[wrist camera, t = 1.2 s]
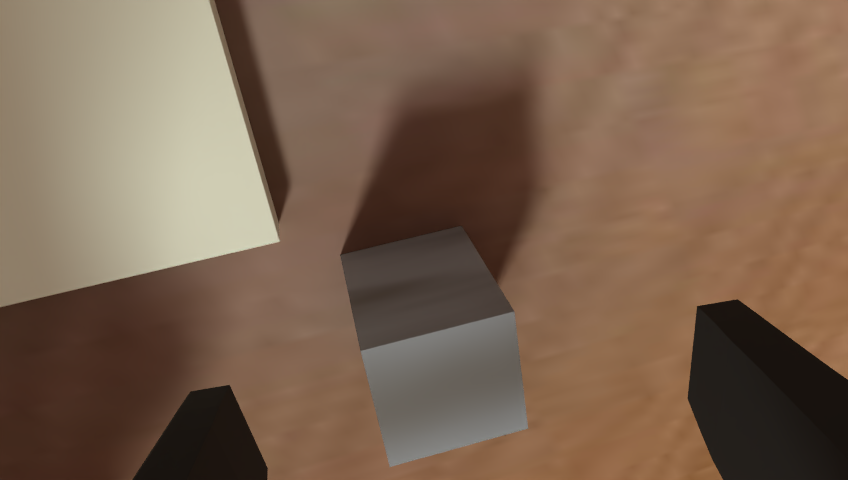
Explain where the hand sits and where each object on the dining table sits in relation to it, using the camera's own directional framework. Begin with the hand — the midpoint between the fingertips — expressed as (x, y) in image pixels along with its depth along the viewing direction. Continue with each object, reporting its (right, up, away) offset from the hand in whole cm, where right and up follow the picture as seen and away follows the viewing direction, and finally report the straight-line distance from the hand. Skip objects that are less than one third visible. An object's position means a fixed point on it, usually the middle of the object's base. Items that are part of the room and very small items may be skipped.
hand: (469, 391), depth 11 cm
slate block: (-1, 0, +15) cm, 15 cm away
